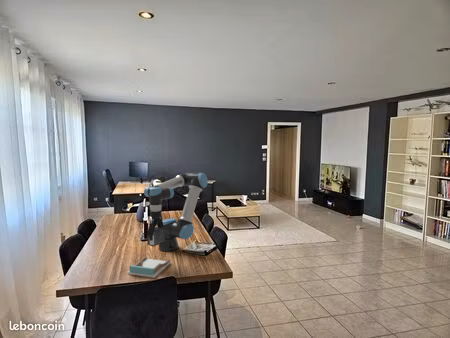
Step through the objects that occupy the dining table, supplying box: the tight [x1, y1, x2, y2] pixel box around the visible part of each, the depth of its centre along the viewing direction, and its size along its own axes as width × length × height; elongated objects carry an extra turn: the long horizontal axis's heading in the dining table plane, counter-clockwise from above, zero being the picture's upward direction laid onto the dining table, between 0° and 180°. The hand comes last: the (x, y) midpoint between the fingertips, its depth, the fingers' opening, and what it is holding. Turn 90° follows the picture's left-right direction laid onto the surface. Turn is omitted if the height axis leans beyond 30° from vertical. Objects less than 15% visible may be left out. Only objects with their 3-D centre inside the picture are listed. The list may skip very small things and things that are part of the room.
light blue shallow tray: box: [126, 256, 171, 279], centre depth 185 cm, size 22×19×5 cm
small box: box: [146, 226, 165, 247], centre depth 190 cm, size 11×6×10 cm, turn 142°
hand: (156, 241), depth 190 cm, fingers closed on small box, 12 cm apart
